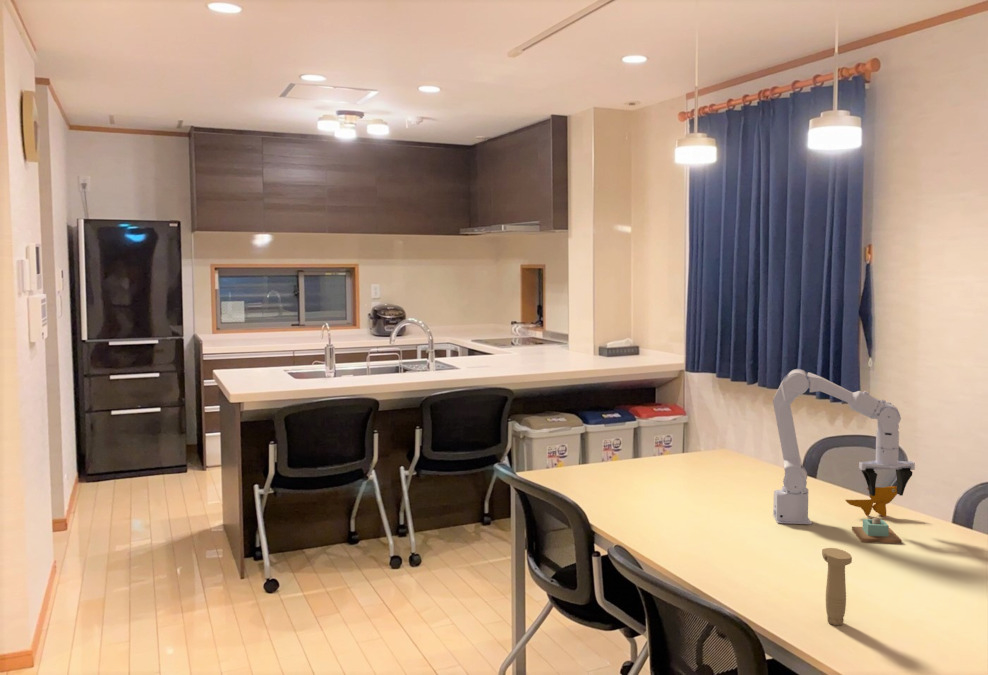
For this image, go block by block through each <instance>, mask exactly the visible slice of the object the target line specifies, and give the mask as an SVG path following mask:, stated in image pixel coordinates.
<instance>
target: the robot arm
mask: <svg viewBox="0 0 988 675" xmlns="http://www.w3.org/2000/svg"><path fill="white" fill-rule="evenodd" d="M808 389H809V393H816V392H821V393H824V394H826V395H829V396H831V397H833V398H836V399H839V400H841V401H843V402H846V403H847V404H848V407H849V409H850V410H852V411H854V412H857V413H858V414H861V415H863V416H865V417H867V418H869V419H871V420H872V419H873V420H877V426H876V427H877V429H876V431H875V432H876V433H875V460H869V461H859V462H858V469H859V470H860V471H861V473H862V474H863V478H864V479H865V481H866V484H867V488H868V489H869V490H868V489H867V490H868V493H869V496H870V495H872V496H875V487H876V484H877V477H878V473H877V472H876V471H877V470H895V475H896V487H897V495H898V496H902V497H903V495H904V492H905V488H906V486H907V484H908V483H909V480H910V479H911V477H912V476H913V471H915V469H916V465H915V462H913V461H907V460H906V461H903V460H899V448H900V446H899V444H900V432H899V429H900V425H899V423H900V422H901V419H902V418H901V413H900V411H899V409H898V407H897V406H895V405H894V404H892V402H887V400H885V399H879V398H876V397H874V396H873V395H870V392H869V391H867V390H864V391H861V390H857V391H855V392H853V391H850V390H848V389H846V388H844V387H843V386H840V385H838V384H836V383H834V382H832V381H830V380H828V379H827V378H825V377H823V376H820V375H817V374H814V373H813V372H808V371H807V372H806V371H805V369H800V368H796V369H792V370H791V371H789V372H788V373H787V374H786V375H785V376H784V377H783V379H782V381H781V382H780V385H779V387H778V389H777V390H776V392H775V394H774V396H773V399H772V405H773V410H774V415H775V422H776V426H777V431H778V436H779V442H780V447H781V452H782V458H783V468H784V477H783V479H782V480H783V481H782V483H783V484H782V485H783V486H782V487H781V489H774V491H773V512H772V516H773V517H774V519H775V521H776V523H778V524H786V525H787V524H789V525H791V524H792V525H793V524H794V525H812V521H811V520H810V518H809V488H807V484H808V482H807V480H808V472H807V470H806V468H805V467H804V466H803V464H802V459H801V455H800V450H799V445H798V438H797V433H796V428H795V423H794V417H793V412H792V407H791V406H792V405H791V404H792V403H793V402H794V401H795V400H796V398H798V397H799V396H801V395H803V394H804V393H806V392H807V391H808ZM875 470H876V471H875Z"/></svg>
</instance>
